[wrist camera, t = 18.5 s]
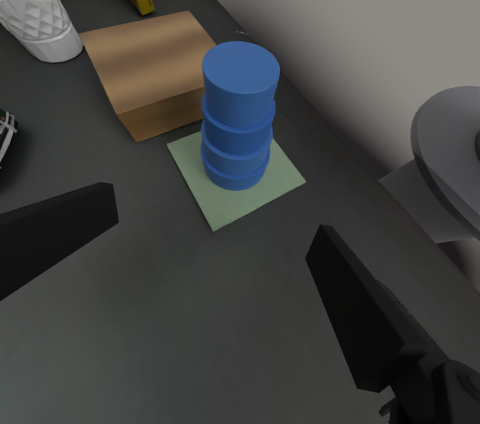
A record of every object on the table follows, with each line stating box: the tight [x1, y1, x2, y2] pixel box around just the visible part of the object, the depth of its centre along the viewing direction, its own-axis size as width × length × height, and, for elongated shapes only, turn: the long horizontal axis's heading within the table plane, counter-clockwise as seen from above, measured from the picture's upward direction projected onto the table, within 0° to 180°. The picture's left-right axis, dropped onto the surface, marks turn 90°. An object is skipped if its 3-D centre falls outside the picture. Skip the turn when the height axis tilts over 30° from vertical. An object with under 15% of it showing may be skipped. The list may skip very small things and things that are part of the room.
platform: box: [79, 11, 216, 143], centre depth 22 cm, size 14×14×4 cm
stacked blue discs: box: [201, 41, 280, 191], centre depth 15 cm, size 7×7×10 cm
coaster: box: [167, 131, 306, 232], centre depth 20 cm, size 12×12×1 cm
